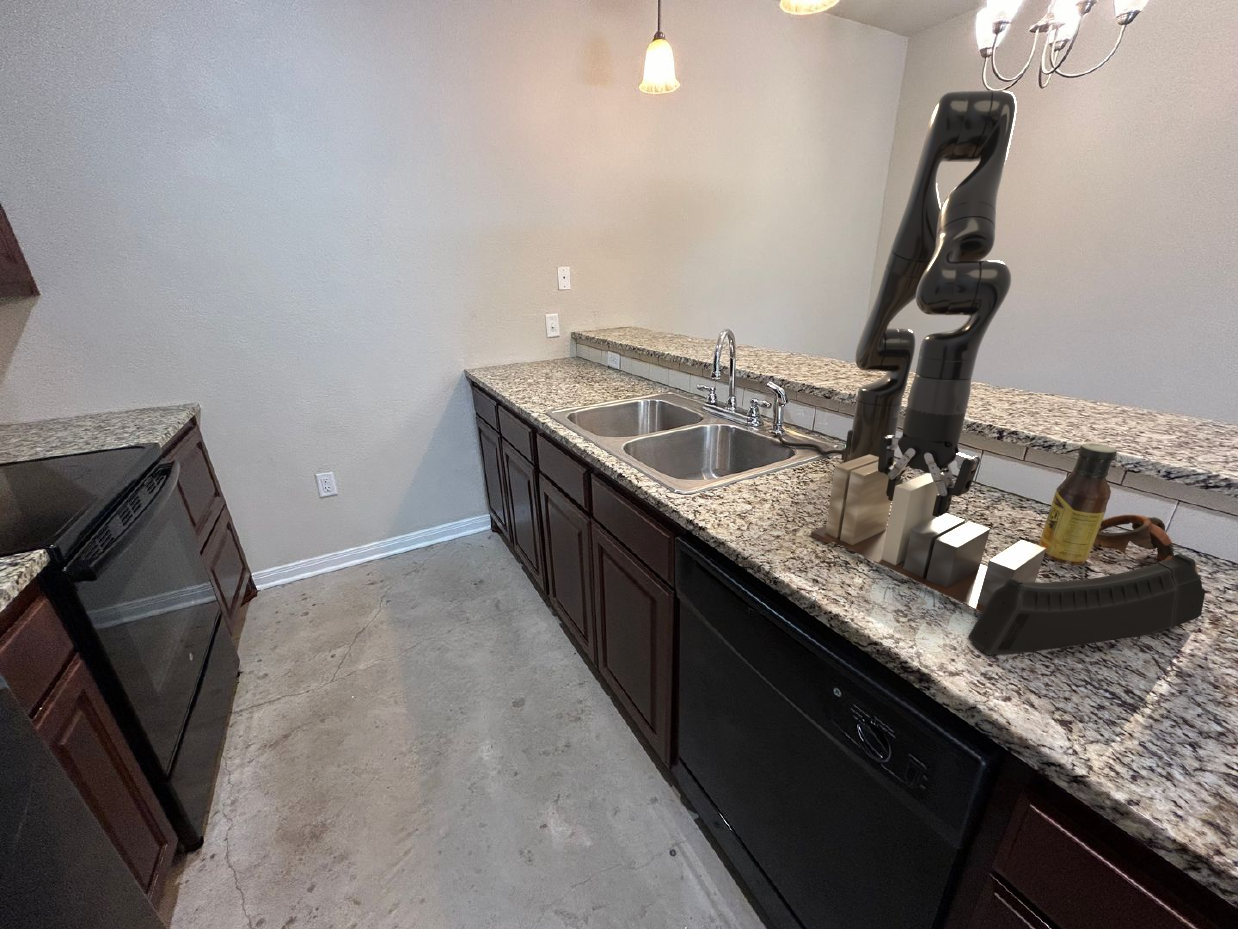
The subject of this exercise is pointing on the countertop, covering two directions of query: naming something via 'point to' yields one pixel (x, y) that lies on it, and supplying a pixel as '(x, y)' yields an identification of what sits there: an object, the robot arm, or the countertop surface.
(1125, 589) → the magazine
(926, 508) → the cream book
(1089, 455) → the sauce bottle
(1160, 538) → the rusty ring bracket
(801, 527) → the countertop surface
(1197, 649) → the countertop surface
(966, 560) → the book board
